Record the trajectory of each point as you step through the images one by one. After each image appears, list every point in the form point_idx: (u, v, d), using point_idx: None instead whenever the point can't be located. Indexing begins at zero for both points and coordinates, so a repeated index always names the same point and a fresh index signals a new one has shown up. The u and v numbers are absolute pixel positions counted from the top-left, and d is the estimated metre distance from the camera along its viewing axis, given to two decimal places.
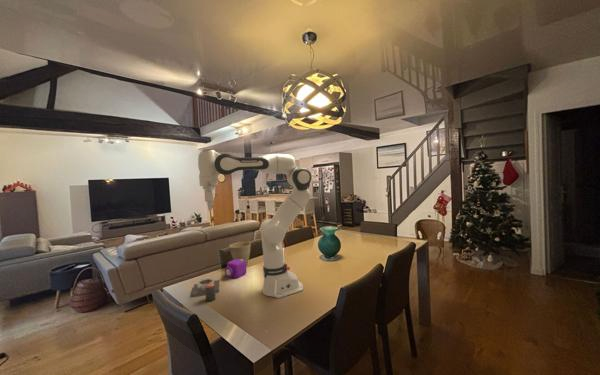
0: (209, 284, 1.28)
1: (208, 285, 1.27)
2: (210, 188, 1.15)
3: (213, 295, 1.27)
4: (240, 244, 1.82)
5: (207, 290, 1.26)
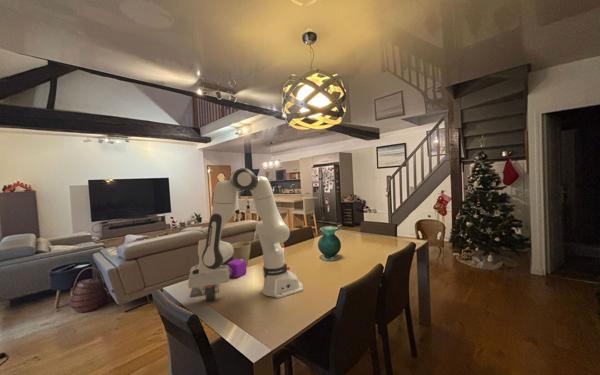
0: None
1: None
2: None
3: (213, 295, 1.27)
4: (240, 244, 1.82)
5: (207, 290, 1.26)
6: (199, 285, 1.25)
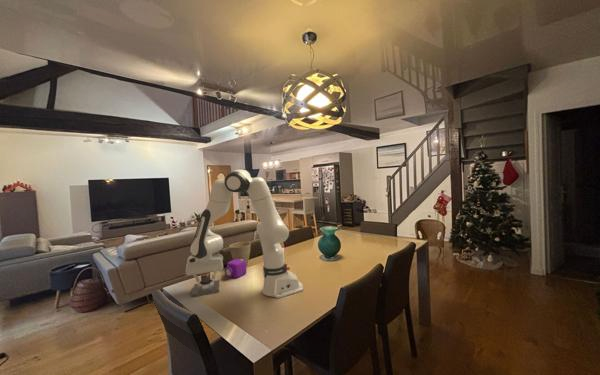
0: (205, 273, 1.41)
1: (204, 273, 1.40)
2: None
3: None
4: (240, 244, 1.82)
5: (203, 278, 1.38)
6: (195, 272, 1.37)
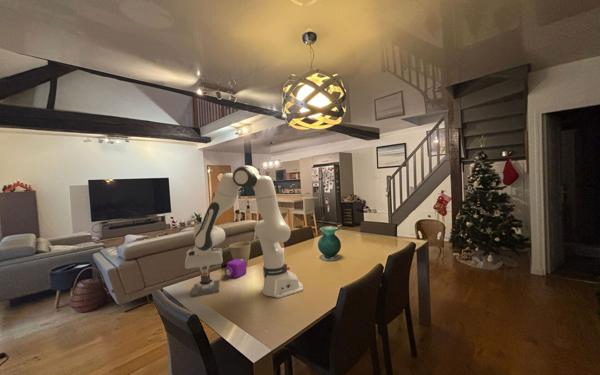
0: None
1: (203, 274, 1.40)
2: None
3: None
4: (240, 244, 1.82)
5: (203, 278, 1.38)
6: (195, 266, 1.37)
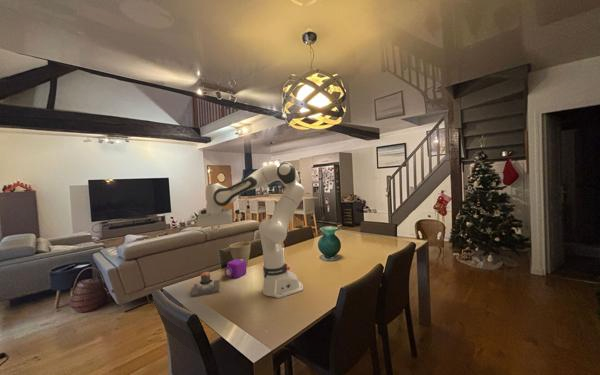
0: (205, 273, 1.41)
1: (204, 274, 1.40)
2: None
3: None
4: (240, 244, 1.82)
5: (203, 278, 1.38)
6: (206, 224, 1.45)
